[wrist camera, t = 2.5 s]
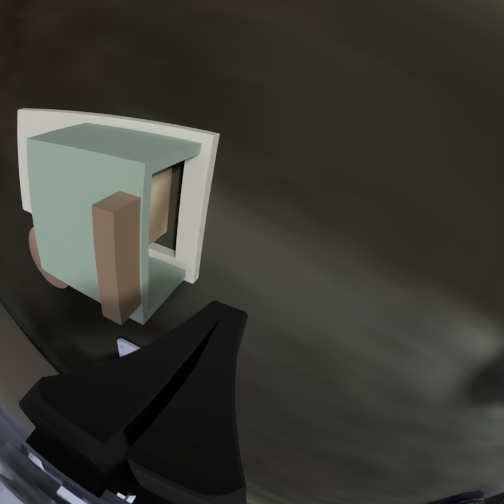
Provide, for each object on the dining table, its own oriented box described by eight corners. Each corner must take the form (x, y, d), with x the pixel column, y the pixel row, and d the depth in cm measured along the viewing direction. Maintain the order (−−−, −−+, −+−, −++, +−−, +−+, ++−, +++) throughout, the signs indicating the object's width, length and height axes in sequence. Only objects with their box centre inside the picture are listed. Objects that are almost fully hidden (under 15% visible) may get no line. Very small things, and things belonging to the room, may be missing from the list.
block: (167, 230, 20) (122, 266, 16) (117, 213, 21) (70, 242, 17) (173, 167, 18) (121, 192, 14) (118, 154, 19) (65, 175, 15)
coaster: (80, 294, 28) (75, 298, 27) (40, 270, 29) (35, 273, 28) (71, 234, 24) (65, 238, 23) (30, 215, 25) (24, 218, 24)
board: (198, 277, 21) (193, 283, 21) (28, 206, 24) (23, 209, 24) (219, 133, 16) (213, 135, 15) (24, 108, 19) (17, 109, 19)
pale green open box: (185, 277, 20) (125, 345, 14) (87, 237, 22) (24, 281, 16) (201, 143, 16) (116, 175, 10) (86, 122, 17) (1, 146, 11)
